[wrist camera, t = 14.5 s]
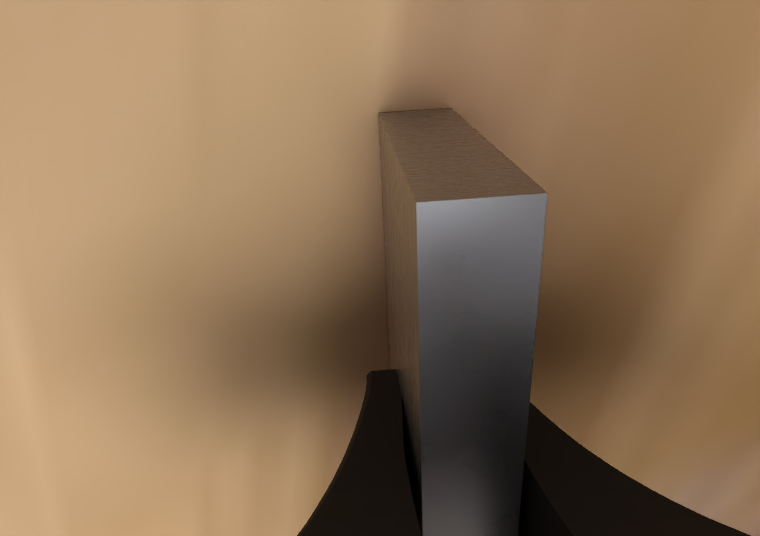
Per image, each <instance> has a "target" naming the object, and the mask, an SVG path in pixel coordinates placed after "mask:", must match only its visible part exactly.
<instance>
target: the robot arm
mask: <svg viewBox="0 0 760 536" xmlns="http://www.w3.org/2000/svg"><path fill="white" fill-rule="evenodd" d="M297 536H421V533H420V529H419V524H418V520H417V515H416V511H415V506H414V501H413V496H412V492H411V487H410V482H409V477H408V472H407V466H406V461H405V454H404V445H403V420H402V394H401V389H400V385H399V380H398V376H397V373H396V369H391V370H379V371H371V372H370V373H369V374H368V375H367V385H366V392H365V397H364V401H363V405H362V409H361V412H360V415H359V418H358V421H357V424H356V428H355V430H354V433H353V436H352V438H351V441H350V443H349V445H348V448H347V450H346V453H345V455H344V457H343V460H342V462H341V464H340V466H339V468H338V470H337V472H336V474H335V476H334V478H333V480H332V482H331V483H330V485H329V487H328V489H327V491H326V493H325V494H324V496H323V497H322V499H321V501H320V502H319V504H318V506H317V507H316V509H315V511H314V512H313V514H312V515H311V517H310V518H309V520H308V521H307V523H306V524H305V526H304V527H303V528H302V530H301V531H300V532H299V534H298V535H297ZM518 536H750V535H748V534H746V533H743V532H741V531H738V530H736V529H734V528H731V527H729V526H726V525H724V524H721V523H719V522H717V521H714V520H712V519H709V518H707V517H705V516H703V515H701V514H698V513H696V512H694V511H692V510H690V509H688V508H686V507H684V506H682V505H680V504H678V503H676V502H674V501H672V500H670V499H668V498H666V497H664V496H662V495H660V494H658V493H657V492H655V491H653V490H651V489H649V488H647V487H646V486H644V485H642V484H641V483H639V482H637V481H635V480H634V479H632V478H630V477H628V476H627V475H625V474H623V473H622V472H620V471H619V470H617V469H615V468H614V467H612V466H611V465H609V464H608V463H606V462H605V461H603V460H602V459H600V458H599V457H597V456H596V455H595V454H593V453H592V452H590V451H589V450H587V449H586V448H584V447H583V446H582V445H580V444H579V443H578V442H576V441H575V440H574V439H572V438H571V437H570V436H569V435H567V434H566V433H565V432H564V431H562V430H561V429H560V428H559V427H557V426H556V425H555V424H554V423H553V422H552V421H551V420H549V419H548V418H547V417H546V416H545V415H544V414H543V413H542V412H540V411H539V410H538V409H537V408H536V407H535V406H534V405H533V404H532V403H531V402H529V413H528V425H527V436H526V448H525V459H524V471H523V482H522V494H521V505H520V517H519V528H518Z"/></svg>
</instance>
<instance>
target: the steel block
mask: <svg viewBox="0 0 760 536" xmlns="http://www.w3.org/2000/svg"><path fill="white" fill-rule="evenodd" d="M378 116H379V138H380V159H381V180H382V201H383V223H384V244H385V265H386V286H387V307H388V329H389V350H390V370H391V369H396V373H397V376H398V380H399V385H400V389H401V394H402V420H403V445H404V454H405V461H406V466H407V472H408V477H409V482H410V487H411V492H412V496H413V501H414V506H415V511H416V515H417V520H418V524H419V529H420V533H421V536H518V528H519V517H520V505H521V494H522V482H523V471H524V459H525V448H526V436H527V425H528V413H529V402H530V390H531V379H532V367H533V356H534V344H535V333H536V321H537V310H538V298H539V287H540V275H541V264H542V252H543V241H544V229H545V218H546V206H547V195H548V193H547V192H546V191H545V190H543V189H542V188H541V187H540V186H539V185H538V184H537V183H535V182H534V181H533V180H532V179H531V178H530V177H529V176H528V175H526V174H525V173H524V172H523V171H522V170H521V169H520V168H519V167H517V166H516V165H515V164H514V163H513V162H512V161H511V160H509V159H508V158H507V157H506V156H505V155H504V154H503V153H502V152H500V151H499V150H498V149H497V148H496V147H495V146H494V145H492V144H491V143H490V142H489V141H488V140H487V139H486V138H485V137H483V136H482V135H481V134H480V133H479V132H478V131H477V130H476V129H474V128H473V127H472V126H471V125H470V124H469V123H468V122H466V121H465V120H464V119H463V118H462V117H461V116H460V115H459V114H457V113H456V112H455V111H454V110H453V109H452V108H448V109H432V110H416V111H400V112H384V113H378Z"/></svg>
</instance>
